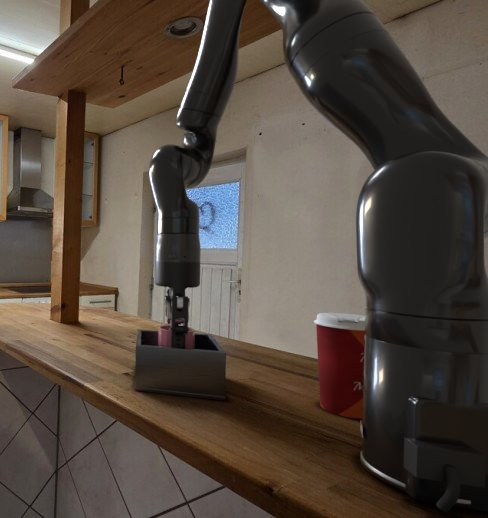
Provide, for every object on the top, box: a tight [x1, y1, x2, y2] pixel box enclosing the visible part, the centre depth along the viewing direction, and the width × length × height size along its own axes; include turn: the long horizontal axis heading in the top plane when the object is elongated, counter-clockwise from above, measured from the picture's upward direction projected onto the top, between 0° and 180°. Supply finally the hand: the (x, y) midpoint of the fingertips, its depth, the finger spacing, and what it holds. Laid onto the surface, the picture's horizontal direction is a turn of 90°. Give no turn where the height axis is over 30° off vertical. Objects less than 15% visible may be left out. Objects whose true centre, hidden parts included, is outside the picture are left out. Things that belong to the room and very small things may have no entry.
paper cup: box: [313, 312, 365, 420], centre depth 55 cm, size 8×8×14 cm
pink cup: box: [157, 324, 196, 349], centre depth 67 cm, size 6×6×9 cm
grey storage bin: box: [134, 329, 227, 402], centre depth 67 cm, size 14×14×8 cm
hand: (175, 350), depth 67 cm, fingers open, 8 cm apart
